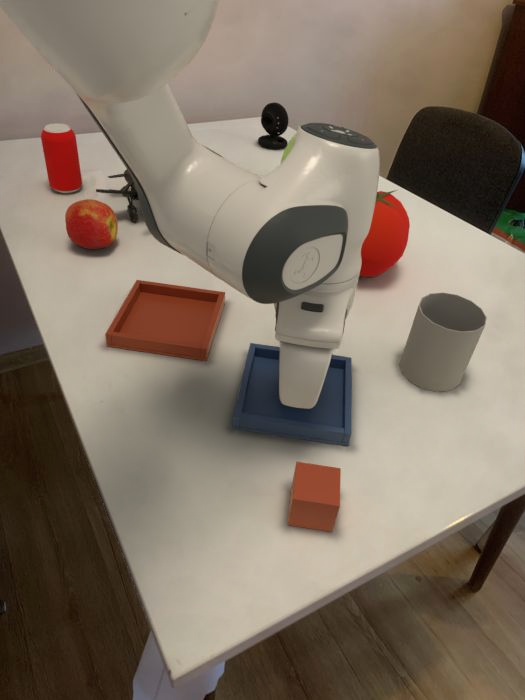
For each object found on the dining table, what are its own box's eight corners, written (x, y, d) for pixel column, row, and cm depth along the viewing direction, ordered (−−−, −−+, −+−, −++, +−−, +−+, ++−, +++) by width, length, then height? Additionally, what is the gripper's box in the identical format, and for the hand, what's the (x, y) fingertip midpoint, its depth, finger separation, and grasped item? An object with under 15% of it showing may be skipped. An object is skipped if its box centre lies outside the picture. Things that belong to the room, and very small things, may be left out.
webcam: (251, 143, 136) (254, 101, 130) (269, 137, 141) (273, 96, 134) (274, 152, 132) (279, 109, 126) (293, 145, 137) (298, 104, 131)
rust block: (287, 525, 54) (292, 498, 51) (291, 487, 57) (296, 461, 54) (332, 532, 54) (340, 506, 51) (333, 494, 57) (340, 468, 54)
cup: (387, 358, 75) (405, 299, 69) (432, 344, 78) (453, 287, 72) (427, 398, 69) (451, 338, 63) (473, 382, 73) (501, 323, 66)
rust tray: (106, 346, 72) (105, 334, 71) (137, 291, 83) (136, 279, 81) (206, 361, 72) (206, 349, 70) (224, 303, 82) (225, 292, 81)
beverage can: (76, 197, 105) (66, 134, 97) (45, 193, 105) (33, 130, 98) (87, 184, 110) (79, 124, 102) (57, 180, 110) (47, 120, 102)
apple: (106, 261, 88) (101, 216, 83) (58, 253, 89) (50, 208, 84) (125, 239, 94) (121, 196, 89) (80, 231, 95) (74, 188, 90)
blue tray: (232, 428, 63) (233, 416, 62) (249, 354, 73) (250, 342, 72) (348, 446, 62) (351, 434, 61) (348, 369, 73) (351, 357, 71)
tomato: (374, 245, 100) (391, 173, 91) (416, 284, 91) (440, 209, 82) (298, 255, 95) (309, 180, 86) (335, 299, 85) (351, 219, 77)
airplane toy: (121, 243, 93) (112, 155, 83) (79, 199, 105) (67, 118, 95) (219, 219, 103) (222, 138, 93) (171, 181, 114) (169, 106, 104)
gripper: (292, 234, 65) (280, 325, 74) (274, 338, 49) (261, 437, 58) (344, 241, 65) (326, 331, 74) (342, 348, 49) (319, 446, 58)
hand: (297, 379), depth 66 cm, fingers closed on blue block, 4 cm apart
